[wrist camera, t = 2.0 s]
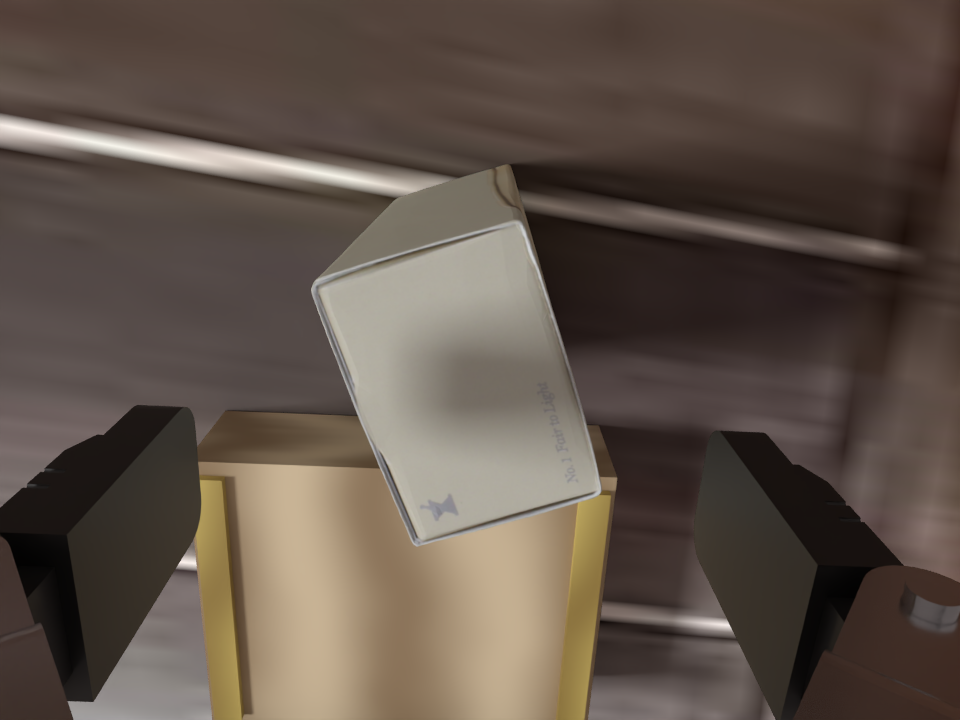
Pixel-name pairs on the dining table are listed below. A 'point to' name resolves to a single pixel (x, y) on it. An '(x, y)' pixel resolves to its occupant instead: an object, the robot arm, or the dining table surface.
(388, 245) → the skincare box
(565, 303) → the dining table surface
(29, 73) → the dining table surface
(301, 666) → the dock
